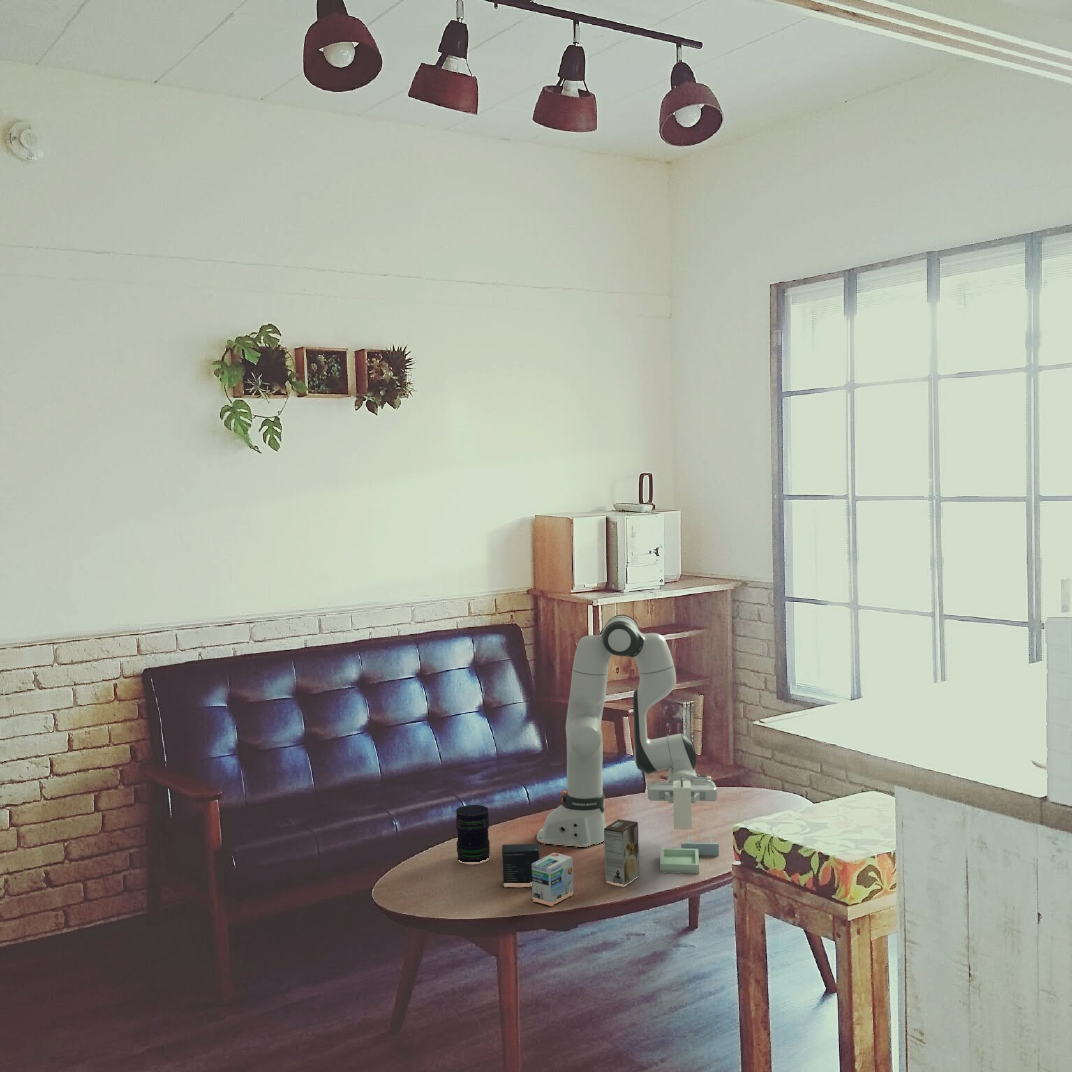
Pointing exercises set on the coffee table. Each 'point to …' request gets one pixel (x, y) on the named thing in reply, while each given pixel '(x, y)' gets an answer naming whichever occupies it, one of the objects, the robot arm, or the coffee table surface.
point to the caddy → (682, 804)
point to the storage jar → (472, 833)
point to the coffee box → (621, 851)
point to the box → (519, 862)
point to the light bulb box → (552, 877)
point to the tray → (679, 860)
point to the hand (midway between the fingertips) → (682, 800)
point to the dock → (702, 847)
